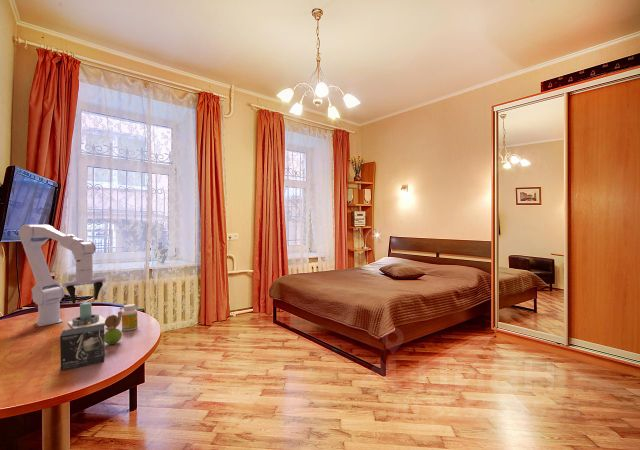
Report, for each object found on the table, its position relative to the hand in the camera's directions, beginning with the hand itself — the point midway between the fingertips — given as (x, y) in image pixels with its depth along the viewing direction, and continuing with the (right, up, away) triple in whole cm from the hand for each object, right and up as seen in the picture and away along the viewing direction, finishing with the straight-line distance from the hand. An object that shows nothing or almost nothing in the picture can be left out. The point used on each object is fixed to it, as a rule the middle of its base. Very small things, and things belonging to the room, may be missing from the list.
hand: (85, 301), depth 134 cm
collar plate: (+1, -10, +1) cm, 10 cm away
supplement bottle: (+24, -10, -7) cm, 27 cm away
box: (+29, -10, -38) cm, 49 cm away
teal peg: (0, -9, 0) cm, 9 cm away
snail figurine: (+28, -10, -23) cm, 37 cm away
